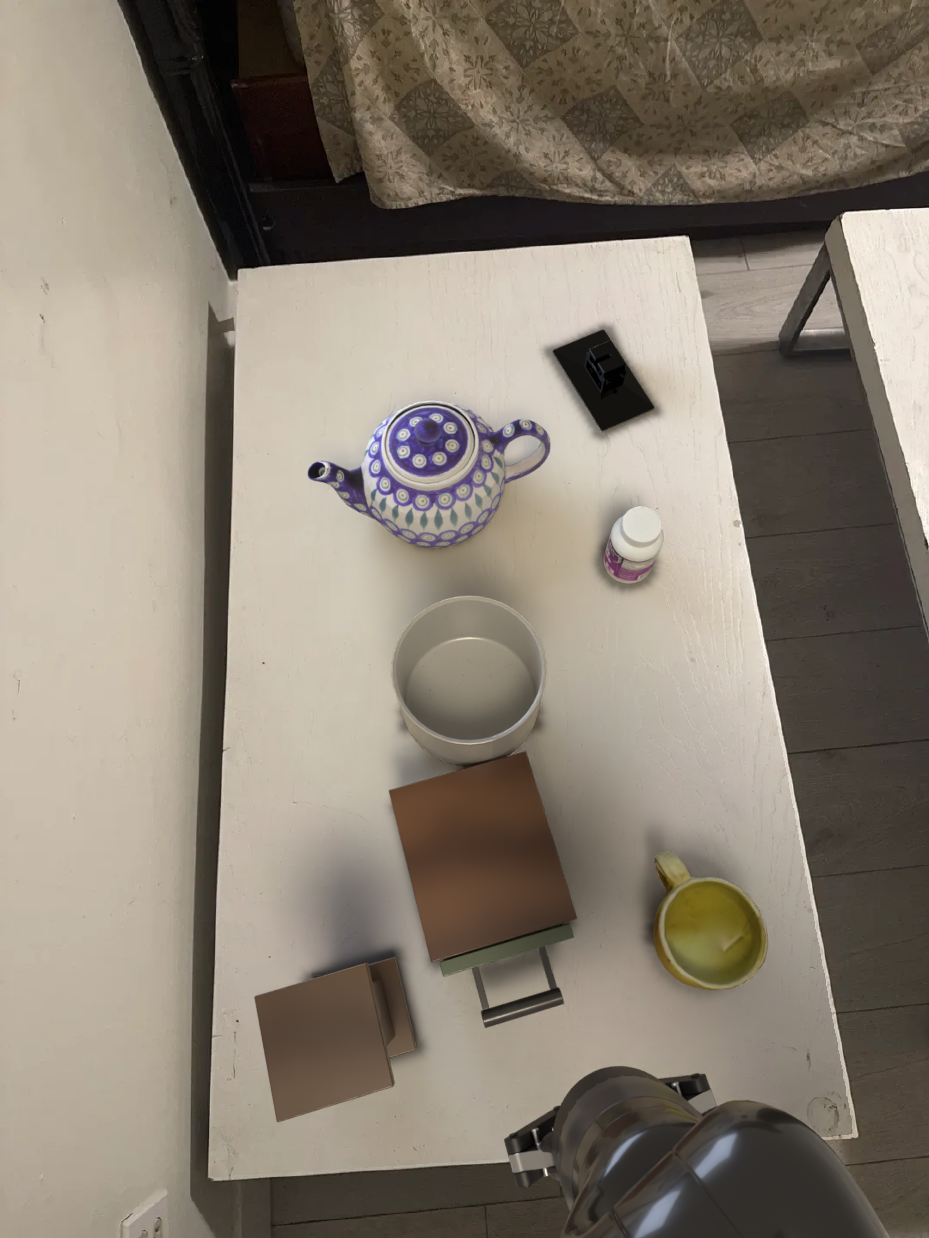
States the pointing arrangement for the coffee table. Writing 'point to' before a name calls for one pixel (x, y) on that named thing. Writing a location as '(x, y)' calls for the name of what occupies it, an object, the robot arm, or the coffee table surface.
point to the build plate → (603, 380)
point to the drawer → (504, 951)
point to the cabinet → (480, 856)
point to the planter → (469, 679)
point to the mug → (707, 929)
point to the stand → (334, 1037)
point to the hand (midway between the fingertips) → (595, 1103)
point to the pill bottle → (634, 545)
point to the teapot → (433, 472)
